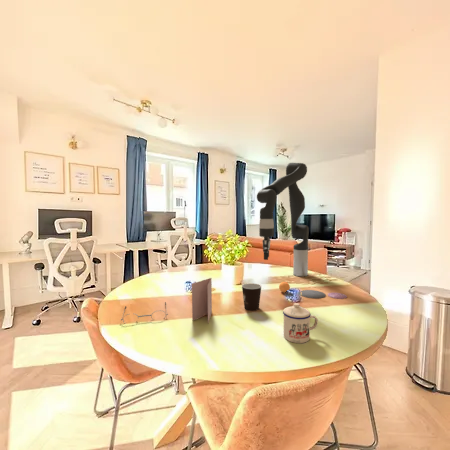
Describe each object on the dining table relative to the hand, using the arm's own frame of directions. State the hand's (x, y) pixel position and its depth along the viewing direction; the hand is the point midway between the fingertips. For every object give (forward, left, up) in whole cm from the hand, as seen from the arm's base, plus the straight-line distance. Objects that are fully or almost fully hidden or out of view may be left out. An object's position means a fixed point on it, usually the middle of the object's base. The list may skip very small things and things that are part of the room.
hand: (266, 258), depth 138 cm
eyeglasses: (+40, -49, -19) cm, 66 cm away
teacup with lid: (+48, +15, -18) cm, 53 cm away
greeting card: (+40, -21, -18) cm, 48 cm away
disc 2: (0, +35, -18) cm, 40 cm away
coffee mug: (+24, -5, -18) cm, 30 cm away
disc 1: (0, +23, -18) cm, 29 cm away
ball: (0, +9, -15) cm, 18 cm away
